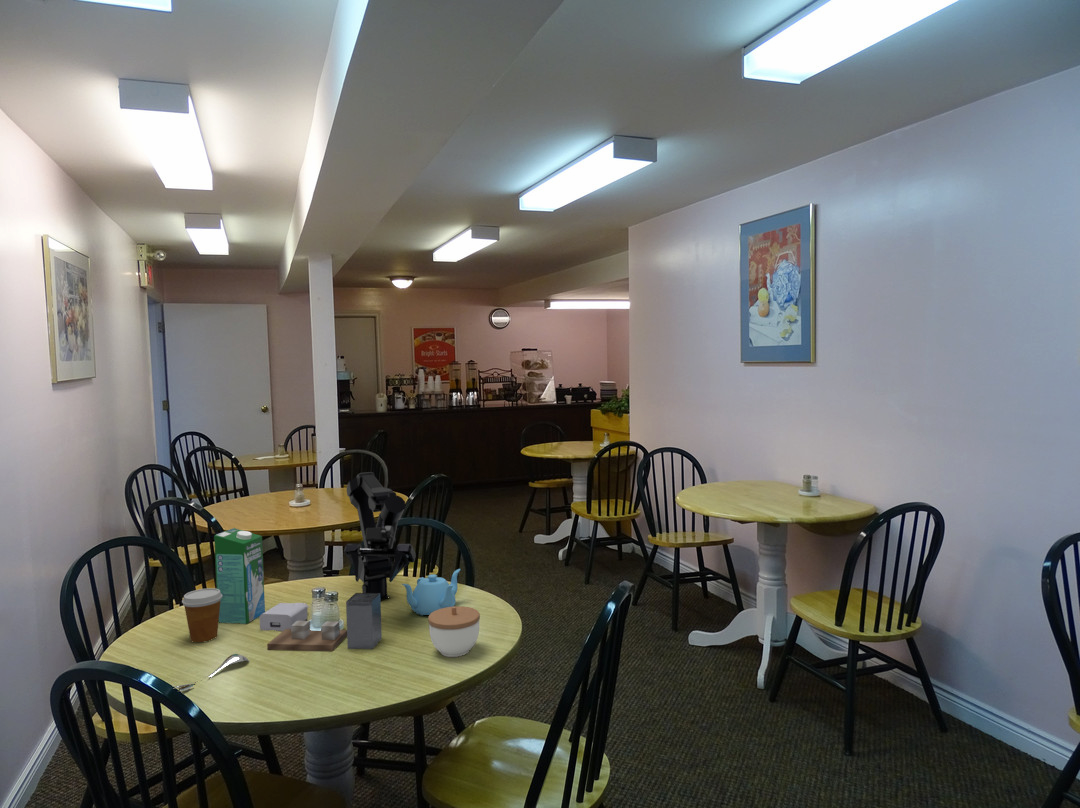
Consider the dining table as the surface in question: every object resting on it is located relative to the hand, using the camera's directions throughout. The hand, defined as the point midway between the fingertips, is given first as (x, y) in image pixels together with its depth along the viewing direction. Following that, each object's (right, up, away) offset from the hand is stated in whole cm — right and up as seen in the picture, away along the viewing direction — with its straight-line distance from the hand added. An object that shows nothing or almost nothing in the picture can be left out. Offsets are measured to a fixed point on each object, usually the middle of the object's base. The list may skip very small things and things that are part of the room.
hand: (373, 581), depth 179 cm
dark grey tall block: (0, -14, -7) cm, 16 cm away
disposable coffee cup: (-44, -15, -2) cm, 47 cm away
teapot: (+14, -13, +15) cm, 25 cm away
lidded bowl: (+23, -14, -13) cm, 30 cm away
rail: (-15, -14, -6) cm, 22 cm away
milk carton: (-41, -14, +13) cm, 45 cm away
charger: (-26, -14, +10) cm, 31 cm away
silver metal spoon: (-31, -16, -25) cm, 43 cm away
